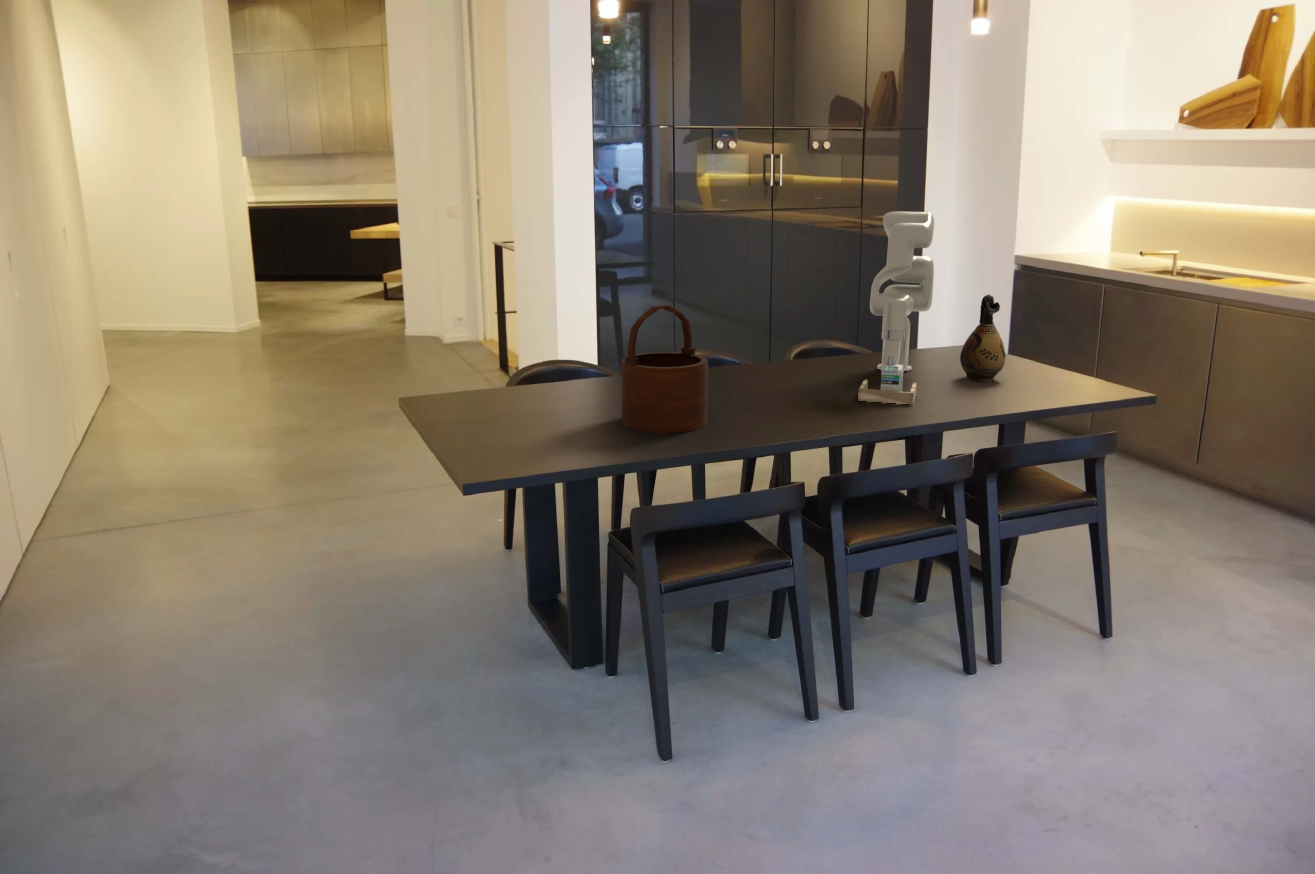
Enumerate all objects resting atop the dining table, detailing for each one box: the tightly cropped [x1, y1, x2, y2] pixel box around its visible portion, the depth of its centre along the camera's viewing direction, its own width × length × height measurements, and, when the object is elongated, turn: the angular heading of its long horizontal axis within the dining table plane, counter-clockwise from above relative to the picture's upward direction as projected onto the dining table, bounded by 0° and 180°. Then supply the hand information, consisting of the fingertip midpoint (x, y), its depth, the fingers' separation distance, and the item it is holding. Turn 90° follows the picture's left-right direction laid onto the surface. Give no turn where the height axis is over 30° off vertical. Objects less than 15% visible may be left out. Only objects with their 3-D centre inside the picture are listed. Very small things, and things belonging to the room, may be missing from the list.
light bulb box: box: [880, 364, 904, 392], centre depth 337 cm, size 11×7×11 cm, turn 164°
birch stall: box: [857, 379, 918, 406], centre depth 339 cm, size 16×17×4 cm
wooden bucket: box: [621, 304, 709, 434], centre depth 304 cm, size 26×26×35 cm
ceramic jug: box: [959, 294, 1007, 383], centre depth 365 cm, size 17×15×30 cm
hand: (890, 388), depth 346 cm, fingers closed
